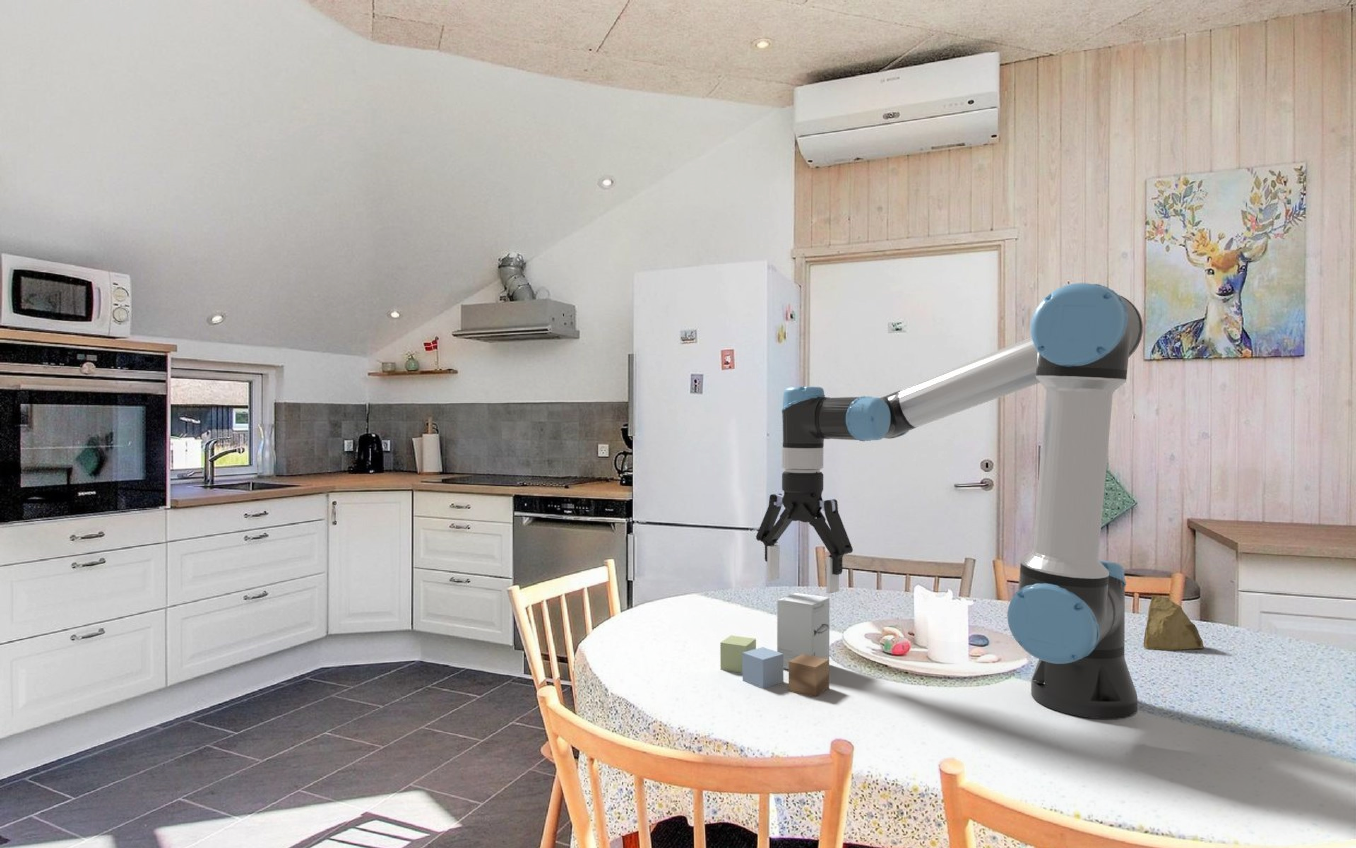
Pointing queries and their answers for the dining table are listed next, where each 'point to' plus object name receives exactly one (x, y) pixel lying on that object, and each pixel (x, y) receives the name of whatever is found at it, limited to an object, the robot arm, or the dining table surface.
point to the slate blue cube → (762, 667)
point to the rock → (1169, 627)
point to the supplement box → (802, 626)
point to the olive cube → (735, 652)
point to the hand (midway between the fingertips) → (801, 585)
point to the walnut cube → (809, 675)
